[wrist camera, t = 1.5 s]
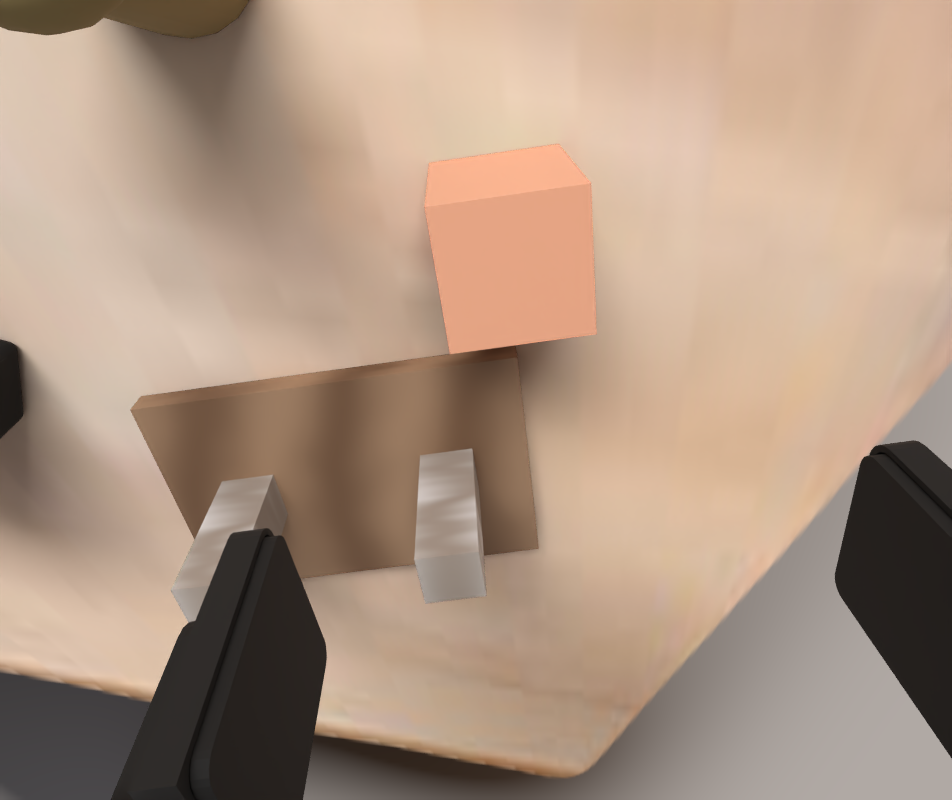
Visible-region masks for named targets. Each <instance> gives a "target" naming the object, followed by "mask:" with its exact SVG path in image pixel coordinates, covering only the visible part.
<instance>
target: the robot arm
mask: <svg viewBox="0 0 952 800" xmlns="http://www.w3.org/2000/svg"><path fill="white" fill-rule="evenodd" d="M835 583H836V586H837V589H838V592H839V594H840V596H841V598H842V599H843V601H844V602H845V604H846V605H847V606H848V608H849V609H850V611H851V612H852V614H853V615H854V617H855V618H856V620H857V621H858V622H859V624H860V625H861V627H862V628H863V630H864V631H865V633H866V634H867V636H868V637H869V639H870V640H871V641H872V643H873V644H874V646H875V647H876V649H877V650H878V652H879V653H880V655H881V656H882V657H883V659H884V660H885V661H886V663H887V665H888V666H889V668H890V669H891V670H892V672H893V673H894V674H895V676H896V678H897V679H898V680H899V682H900V684H901V685H902V687H903V688H904V689H905V691H906V692H907V694H908V695H909V697H910V698H911V700H912V701H913V703H914V704H915V705H916V707H917V708H918V710H919V711H920V713H921V714H922V716H923V717H924V718H925V720H926V722H927V723H928V724H929V726H930V727H931V729H932V730H933V732H934V733H935V734H936V736H937V738H938V739H939V740H940V742H941V743H942V745H943V746H944V748H945V749H946V750H947V752H948V754H949V755H950V756H951V758H952V469H951V468H950V467H948V466H947V465H946V464H945V463H944V462H943V461H942V460H941V459H939V458H938V457H937V456H936V455H935V454H934V453H933V452H932V451H931V450H929V449H928V448H927V447H926V446H925V445H923V444H921V443H920V442H918V441H906V442H899V443H891V444H885V445H878V446H875V447H874V448H873V449H872V450H871V453H870V455H869V456H866V457H864V458H863V459H862V461H861V463H860V468H859V472H858V477H857V481H856V485H855V489H854V494H853V498H852V503H851V507H850V511H849V515H848V520H847V524H846V529H845V533H844V537H843V541H842V546H841V550H840V554H839V559H838V563H837V567H836V572H835ZM326 658H327V653H326V644H325V640H324V638H323V635H322V632H321V630H320V627H319V625H318V622H317V620H316V617H315V615H314V612H313V610H312V607H311V604H310V602H309V599H308V597H307V594H306V592H305V589H304V587H303V584H302V582H301V579H300V576H299V574H298V571H297V569H296V566H295V564H294V561H293V559H292V556H291V554H290V551H289V548H288V546H287V543H286V541H285V539H284V537H283V536H282V535H278V536H274V535H273V533H272V531H271V530H270V529H269V528H263V529H255V530H248V531H241V532H233V533H232V534H231V535H230V536H229V538H228V540H227V542H226V545H225V547H224V550H223V552H222V555H221V557H220V560H219V562H218V565H217V567H216V570H215V572H214V575H213V577H212V580H211V582H210V585H209V587H208V590H207V592H206V595H205V597H204V600H203V603H202V605H201V608H200V610H199V613H198V615H197V618H196V620H195V621H192V622H189V623H188V624H187V625H186V626H185V627H183V629H182V631H181V633H180V635H179V636H178V639H177V641H176V643H175V646H174V648H173V651H172V653H171V656H170V658H169V660H168V663H167V665H166V668H165V670H164V672H163V675H162V677H161V680H160V682H159V684H158V687H157V689H156V692H155V694H154V697H153V699H152V701H151V704H150V706H149V709H148V711H147V713H146V716H145V718H144V721H143V723H142V725H141V728H140V730H139V733H138V735H137V738H136V740H135V742H134V745H133V747H132V750H131V752H130V754H129V757H128V759H127V762H126V764H125V766H124V769H123V772H122V774H121V776H120V779H119V781H118V784H117V786H116V788H115V791H114V793H113V795H112V798H111V800H303V795H304V790H305V784H306V778H307V772H308V766H309V760H310V754H311V749H312V743H313V737H314V731H315V725H316V720H317V714H318V708H319V702H320V696H321V690H322V685H323V679H324V673H325V667H326Z"/></svg>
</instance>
